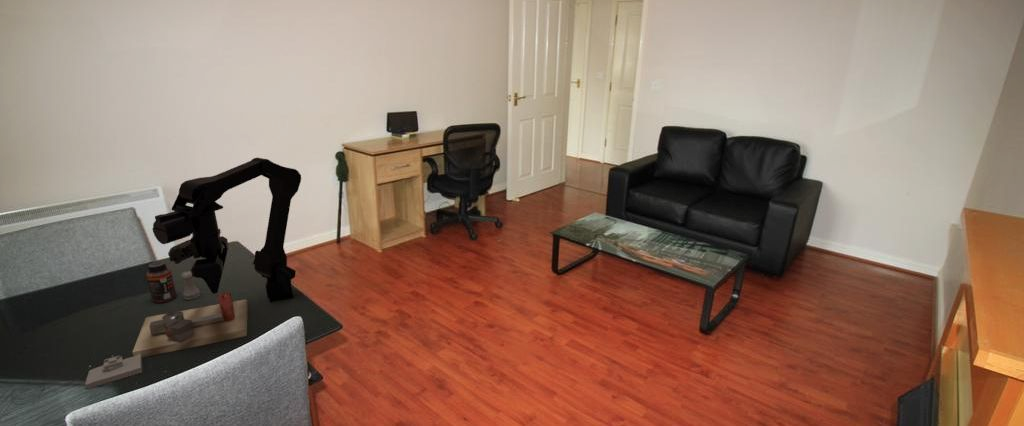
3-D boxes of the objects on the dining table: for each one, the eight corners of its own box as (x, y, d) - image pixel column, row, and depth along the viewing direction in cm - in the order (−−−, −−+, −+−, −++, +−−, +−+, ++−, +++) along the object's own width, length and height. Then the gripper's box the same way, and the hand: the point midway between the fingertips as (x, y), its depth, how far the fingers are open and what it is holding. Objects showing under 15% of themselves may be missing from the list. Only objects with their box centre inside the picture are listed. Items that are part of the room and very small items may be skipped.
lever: (150, 336, 122) (144, 312, 120) (153, 327, 126) (147, 304, 124) (234, 320, 130) (230, 297, 128) (235, 312, 134) (231, 289, 131)
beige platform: (139, 350, 122) (136, 337, 121) (154, 369, 115) (151, 355, 114) (77, 374, 113) (73, 360, 112) (90, 396, 106) (85, 381, 105)
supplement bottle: (175, 301, 144) (167, 266, 140) (151, 305, 141) (141, 269, 137) (178, 292, 149) (170, 258, 145) (154, 296, 146) (145, 261, 142)
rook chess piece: (192, 301, 144) (186, 277, 141) (179, 299, 144) (173, 275, 142) (204, 294, 148) (199, 270, 145) (191, 292, 149) (186, 268, 146)
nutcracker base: (247, 305, 142) (244, 286, 140) (246, 336, 128) (242, 316, 126) (147, 323, 132) (142, 304, 130) (134, 359, 118) (127, 338, 116)
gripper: (174, 221, 128) (187, 275, 133) (159, 249, 112) (174, 308, 117) (223, 216, 132) (233, 268, 138) (215, 241, 116) (227, 299, 122)
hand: (217, 285), depth 129 cm, fingers open, 9 cm apart
